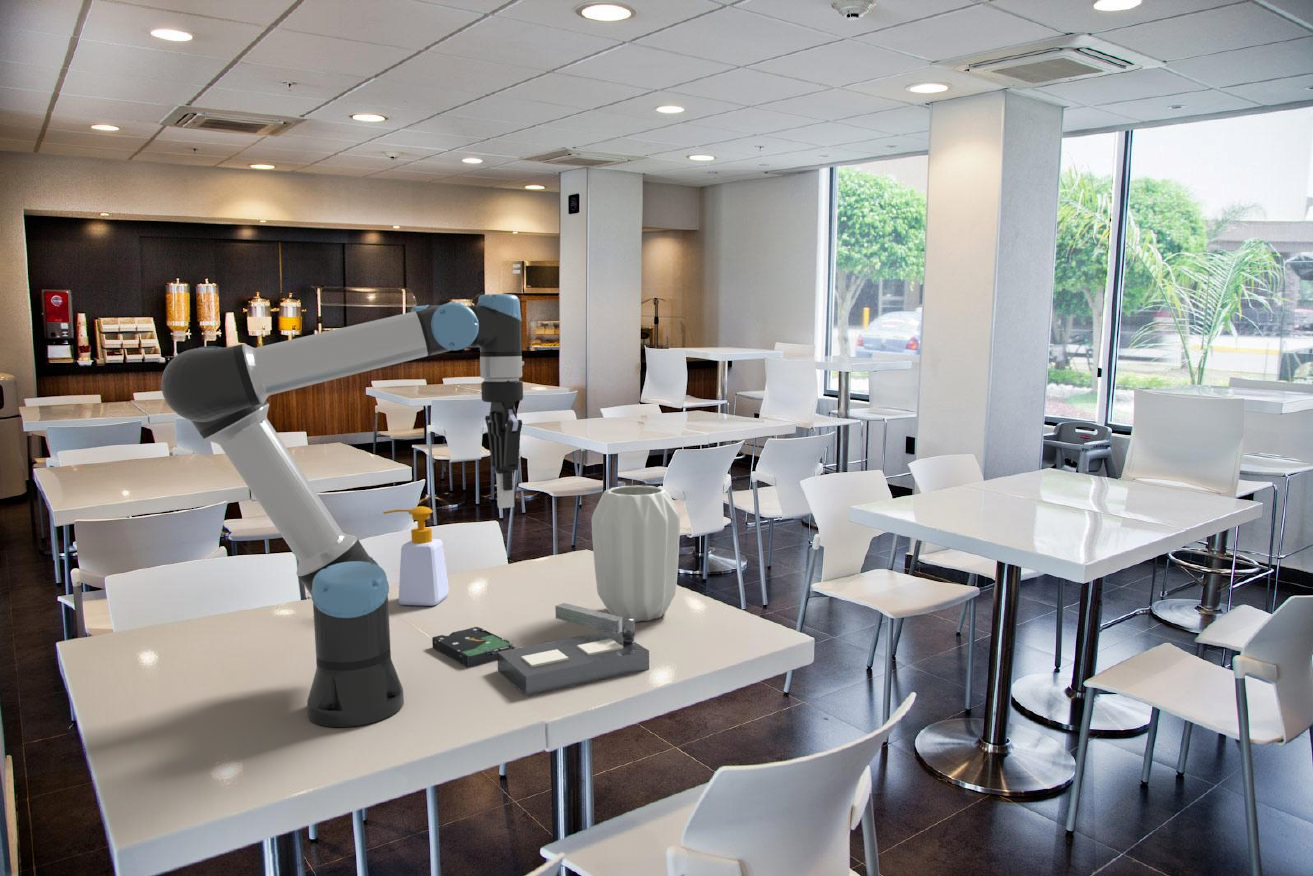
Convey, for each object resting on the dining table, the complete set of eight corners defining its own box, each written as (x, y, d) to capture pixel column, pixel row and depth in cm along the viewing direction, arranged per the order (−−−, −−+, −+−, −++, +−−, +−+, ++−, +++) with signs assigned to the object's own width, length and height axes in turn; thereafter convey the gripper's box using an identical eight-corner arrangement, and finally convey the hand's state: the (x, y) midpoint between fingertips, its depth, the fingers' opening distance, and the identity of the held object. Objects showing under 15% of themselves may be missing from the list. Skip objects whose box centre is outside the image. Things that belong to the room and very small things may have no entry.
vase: (631, 634, 186) (629, 502, 183) (575, 613, 200) (572, 490, 197) (700, 614, 198) (699, 490, 195) (642, 595, 213) (641, 479, 210)
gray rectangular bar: (637, 635, 171) (637, 618, 171) (629, 639, 169) (628, 621, 169) (564, 616, 183) (564, 600, 183) (555, 619, 181) (555, 603, 181)
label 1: (531, 667, 159) (531, 665, 159) (521, 658, 163) (521, 656, 163) (568, 659, 162) (568, 657, 162) (557, 651, 166) (557, 649, 166)
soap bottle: (395, 594, 217) (391, 502, 214) (451, 595, 215) (448, 503, 212) (378, 605, 207) (373, 510, 205) (436, 607, 205) (432, 511, 203)
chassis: (526, 696, 155) (525, 672, 154) (497, 670, 167) (497, 647, 166) (649, 669, 167) (649, 646, 166) (614, 646, 179) (613, 625, 178)
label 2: (588, 655, 164) (588, 653, 164) (577, 647, 168) (577, 645, 168) (623, 648, 168) (623, 646, 167) (610, 640, 172) (610, 638, 172)
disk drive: (431, 651, 179) (469, 670, 168) (430, 637, 179) (468, 655, 168) (477, 639, 186) (516, 657, 175) (477, 625, 186) (516, 642, 175)
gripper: (534, 380, 162) (538, 510, 165) (508, 377, 174) (512, 499, 176) (494, 382, 159) (498, 515, 161) (470, 379, 170) (474, 503, 173)
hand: (505, 506), depth 169 cm, fingers closed
